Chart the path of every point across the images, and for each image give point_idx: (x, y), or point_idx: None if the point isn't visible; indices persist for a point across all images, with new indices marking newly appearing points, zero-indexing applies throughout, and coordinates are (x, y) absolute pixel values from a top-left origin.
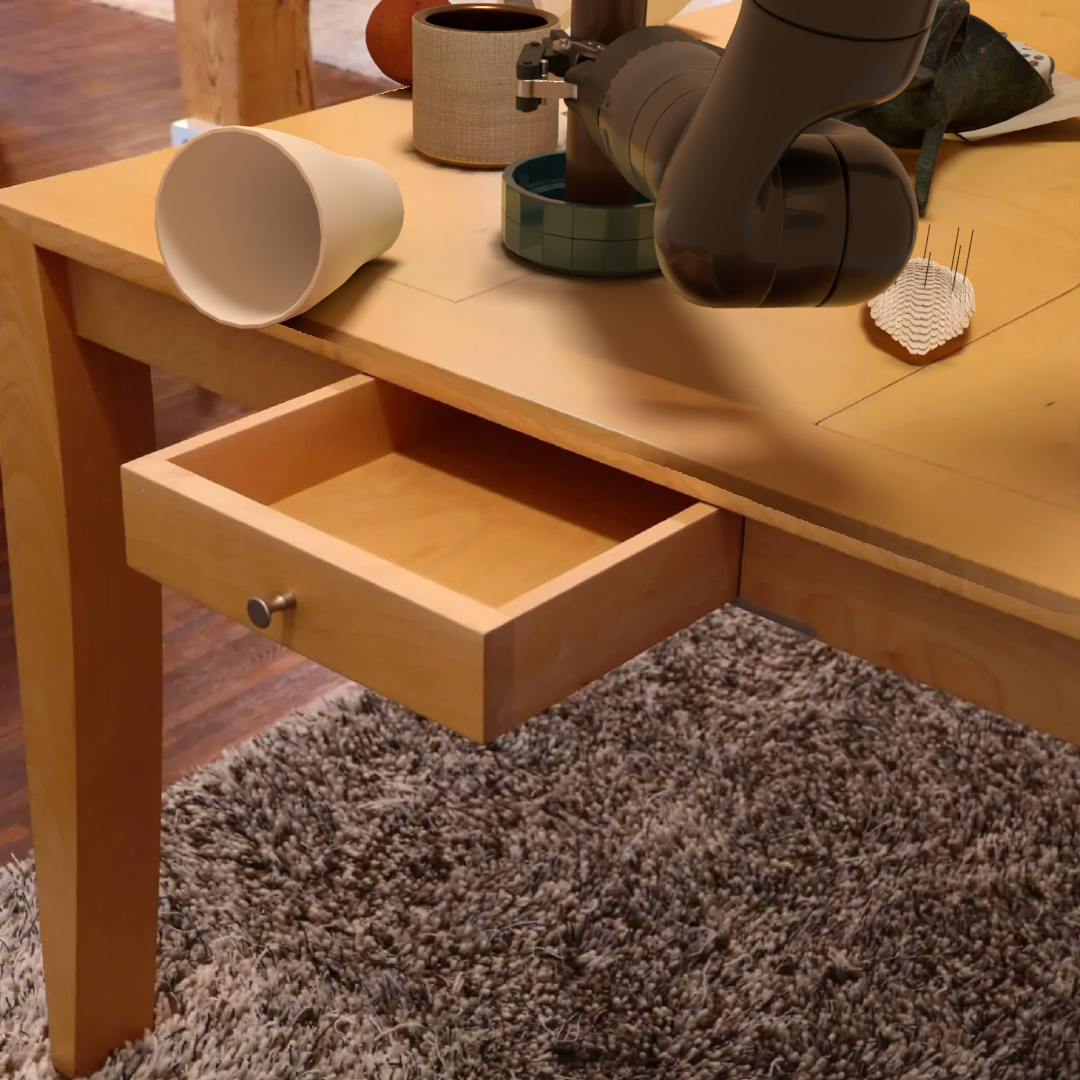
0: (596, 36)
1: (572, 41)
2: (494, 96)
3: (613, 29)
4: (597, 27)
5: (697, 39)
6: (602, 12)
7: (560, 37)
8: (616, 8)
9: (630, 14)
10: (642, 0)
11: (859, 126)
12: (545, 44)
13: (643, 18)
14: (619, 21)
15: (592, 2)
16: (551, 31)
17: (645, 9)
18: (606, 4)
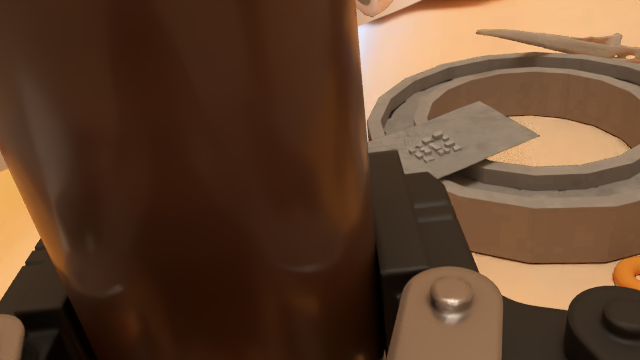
0: (103, 329)
1: (23, 334)
2: None
3: (164, 312)
4: (95, 295)
5: (626, 303)
6: (86, 242)
7: (45, 263)
8: (143, 229)
9: (242, 238)
10: (309, 150)
11: None
12: (25, 269)
13: (336, 219)
14: (183, 281)
15: (29, 193)
16: None
17: (344, 173)
18: (84, 211)
